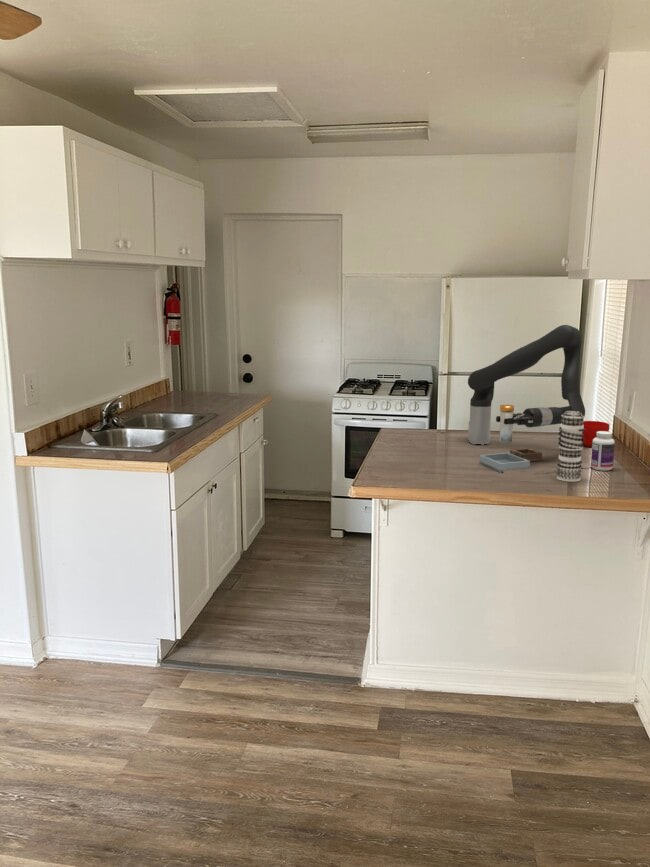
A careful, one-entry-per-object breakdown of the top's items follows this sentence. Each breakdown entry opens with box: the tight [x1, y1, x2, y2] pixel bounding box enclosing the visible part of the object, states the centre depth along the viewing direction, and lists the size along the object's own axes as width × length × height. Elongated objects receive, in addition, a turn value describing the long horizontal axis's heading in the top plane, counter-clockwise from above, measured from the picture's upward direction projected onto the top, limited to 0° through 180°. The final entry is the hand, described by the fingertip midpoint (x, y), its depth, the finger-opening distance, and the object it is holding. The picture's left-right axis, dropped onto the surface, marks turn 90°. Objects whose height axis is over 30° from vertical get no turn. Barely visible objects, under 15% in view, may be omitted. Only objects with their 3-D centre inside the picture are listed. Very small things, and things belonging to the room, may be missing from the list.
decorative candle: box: [556, 411, 586, 483], centre depth 261 cm, size 9×9×25 cm
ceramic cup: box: [582, 420, 610, 448], centre depth 313 cm, size 13×17×10 cm
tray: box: [479, 452, 531, 474], centre depth 280 cm, size 15×13×4 cm
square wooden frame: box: [509, 447, 543, 462], centre depth 289 cm, size 9×9×4 cm
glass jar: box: [498, 404, 515, 444], centre depth 277 cm, size 5×5×14 cm
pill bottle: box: [590, 431, 616, 472], centre depth 275 cm, size 8×8×14 cm
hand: (500, 420), depth 275 cm, fingers closed on glass jar, 4 cm apart
